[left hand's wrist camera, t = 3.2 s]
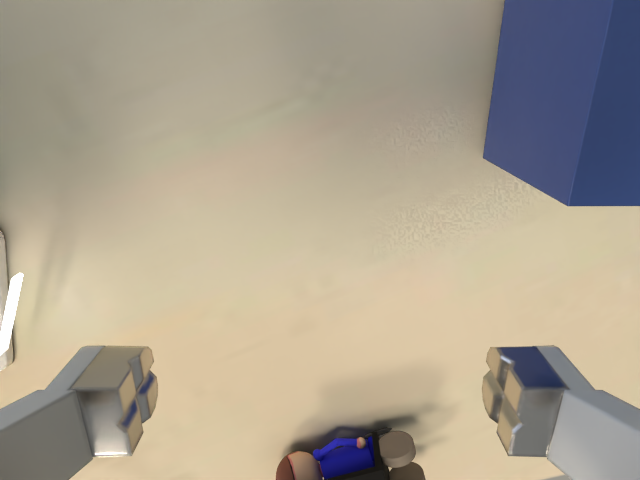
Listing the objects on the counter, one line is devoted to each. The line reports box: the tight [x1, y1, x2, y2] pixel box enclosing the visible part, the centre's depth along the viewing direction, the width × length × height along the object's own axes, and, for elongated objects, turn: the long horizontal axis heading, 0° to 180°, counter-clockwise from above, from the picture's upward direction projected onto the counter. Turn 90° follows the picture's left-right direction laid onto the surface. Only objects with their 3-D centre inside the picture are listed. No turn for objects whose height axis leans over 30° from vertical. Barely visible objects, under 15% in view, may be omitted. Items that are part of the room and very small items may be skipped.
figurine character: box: [276, 427, 425, 480], centre depth 45 cm, size 7×8×15 cm
